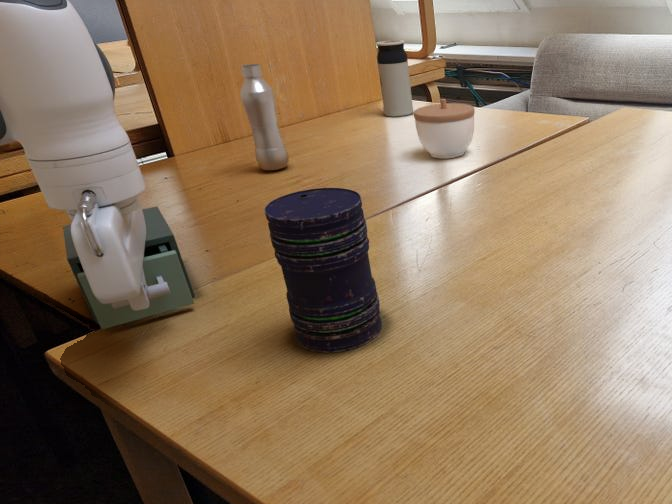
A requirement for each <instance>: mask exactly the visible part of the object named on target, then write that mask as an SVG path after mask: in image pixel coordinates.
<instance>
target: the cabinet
mask: <svg viewBox="0 0 672 504" xmlns="http://www.w3.org/2000/svg"><path fill="white" fill-rule="evenodd" d="M142 210H143V214H144V219H145V224H146V240H145V247H149V246H153V245H158V244H162V243H164V244H165V246H166V248H167V250H168V252H169V251H173V250H175V251H176V253H177V256H178V259H179V262H180V264H181V267H182V270H183V273H184V276H185V279H186V282H187V284H188V287H189V290H190V293H191V296H192V299H193V298H196V295H195V292H194V289H193V287H192V284H191V281H190V278H189V276H188V272H187V269H186V266H185V263H184V260H183V257H182V254H181V252H180V249H179V246H178V244H177V240H176V237H175V235H174V233H173V231H172V229H171V228H170V226H169V224H168V223H167V221H166V219H165V217H164V216H163V215H164V214H162V212H161V210H160V209H159V207H158V205H157V206H151V207H146V208H142ZM62 230H63V239H64V245H65V253H66V255H65V256H66V260H67V262H68V265H69V268H70V270H71V272H72V274H73V276H74V278H75V280H76V283H77V284H78V286H79V289H80V291H81V293H82V296H83V298H84V300H85V302H86V304H87V306H88V309H89V311H90V313H91V315H92V318H93V320H94V322H95V324H96V325H99V322H98V320H97V318H96V316H95V314H94V311H93V309H92V307H91V305H90V303H89V300H88V298H87V296H86V294H85V292H84V289H83V287H82V285H81V283H80V281H79V278H78V273H82V272H84V270H83V267H82V264H81V262H80V259H79V257H78V254H77V251H76V249H75V246H74V243H73V239H72V235H71V224H66V225H63V226H62Z"/></svg>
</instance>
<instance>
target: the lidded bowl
mask: <svg viewBox="0 0 672 504" xmlns="http://www.w3.org/2000/svg"><path fill="white" fill-rule="evenodd" d="M439 102H440V103H437V104H430V105H425V106H422V107H417V109H415V110H413V118H414V122H415V130H416V134H417V137H418V140H419V143H420V145H421V146H422V147H423V149H424V150H426V152H427V153H429V154H430V156H431V157H432V158H434V159H440V160H441V159H444V160H445V159H454V158H459V157H462V156H463V155H465V151H466V150H468V148H469V147H470V145H471V144H472V141H473V138H474V133H475V107H474V106H473V105H471V104H467V103H459V102H455V103H454V102H453V103H452V102H450V103H447V99H446V98H441V99H439Z"/></svg>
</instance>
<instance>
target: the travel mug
mask: <svg viewBox="0 0 672 504" xmlns="http://www.w3.org/2000/svg"><path fill="white" fill-rule="evenodd" d="M375 45H376V46H377V49H378V52H377V55H376V60H377V68H378V75H379V83H380V91H381V97H382V106H383V112H384V115H385V116H386V117H389V118H390V117H393V118H399V117H405V116H409V115H412V113H414V106H413V105H414V104H413V96H412V88H411V77H410V70H409V61H408V54H407V52H406V50H405V49H404V48H405V40H403V39H389V40H381V41H376V43H375Z"/></svg>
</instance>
